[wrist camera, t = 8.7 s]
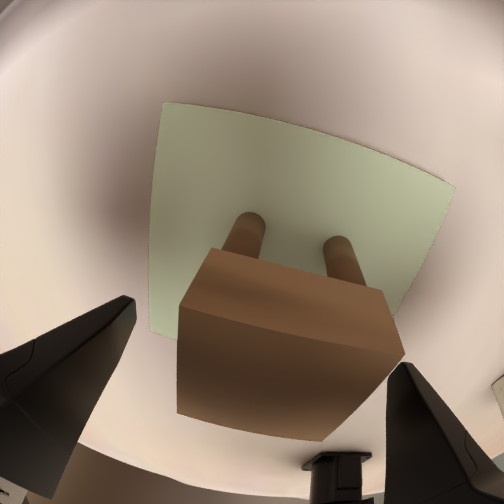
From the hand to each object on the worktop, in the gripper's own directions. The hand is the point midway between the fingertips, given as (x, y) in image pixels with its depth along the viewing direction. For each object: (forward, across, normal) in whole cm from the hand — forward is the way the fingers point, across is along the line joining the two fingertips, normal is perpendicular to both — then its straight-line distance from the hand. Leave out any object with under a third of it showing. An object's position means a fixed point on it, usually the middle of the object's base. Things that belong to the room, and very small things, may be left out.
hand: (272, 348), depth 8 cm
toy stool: (+4, 0, 0) cm, 4 cm away
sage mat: (+5, 0, 0) cm, 5 cm away
